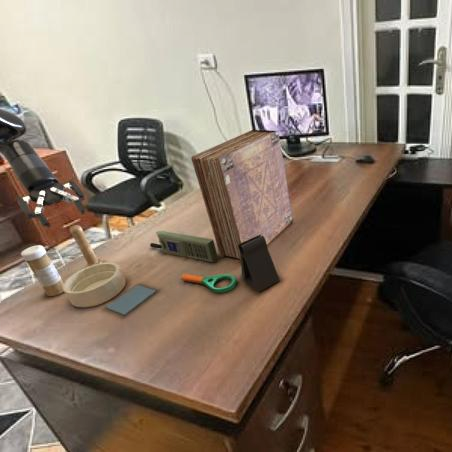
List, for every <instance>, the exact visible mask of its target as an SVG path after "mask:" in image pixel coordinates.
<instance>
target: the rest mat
mask: <svg viewBox="0 0 452 452" xmlns="http://www.w3.org/2000/svg"><path fill="white" fill-rule="evenodd" d="M156 293H157V290H155V289H152V288H149V287H145V286H143V285H140V284H137V285H136V286H134V287H133V288H131V289H130V290H128V291H126V292H125V293H124V294H122V295H121V296H119V298H117V299H116V300H114V301H113V302H111V303H110V304H108V305H107V306H105V308H106V309H107V310H109V311H113V312H115V313H117V314H121V315H123V316H127V315H128V314H129V313H130V312H132V311H133V310H135V309H137V307H139V306H140V305H142V304H143V303H144V302H145V301H147V300H148V299H149V298H151V297H152V296H153V295H155V294H156Z"/></svg>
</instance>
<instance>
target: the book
mask: <svg viewBox="0 0 452 452" xmlns="http://www.w3.org/2000/svg"><path fill="white" fill-rule="evenodd" d="M190 159H191V162H192V166H193V169H194V173H195V176H196V179H197V183H198V186H199V189H200V193H201V196H202V199H203V202H204V207H205V209H206V213H207V215H208V219H209V223H210V226H211V228H212V232H213V236H214V239H215V243H216V246H217V250H218V252H219V256H220V258H224V257H225V256H226V257H230V258H235V259H238V260H241V258H240V251H239V248H238V244H240V243H243V242H245V241H247V240H249V239H251V238H253V237H256V236H258V235H260V234H261V236H264V238H265V240H266V245H267V246H268V245H269V243H271V241H273V240H274V239H275V238H276V237H278V236H279V234H281V232H283V231H284V230H285V229H286V228H287V227H288V226H289V225H290V224H292V223H293V222H294V216H293V210H292V204H291V198H290V192H289V188H288V182H287V174H286V170H285V163H284V157H283V152H282V145H281V139H280V134H279V130H264V129H251V130H249V131H247V132H244V133H242V134H240V135H237V136H235V137H233V138H230V139H228V140H226V141H223V142H221V143H219V144H217V145H214V146H212V147H209V148H208V149H204V151H200V152H199V153H196V154H193V155H192V156H191V158H190ZM261 236H260V237H261Z"/></svg>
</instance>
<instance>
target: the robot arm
mask: <svg viewBox="0 0 452 452" xmlns="http://www.w3.org/2000/svg"><path fill="white" fill-rule="evenodd" d="M27 132H28V127H27V125H26V123H25V122H24V120H23V119H22V118H21V117H19V116H18V115H16V114H14V113H13V112H10V111H8V110H6V109H3V108H0V154H1V155H2V156H3V157H4V159H5V160H6V162H7V163H8V165H9V166H10V167H11V169H12V172H13V173H14V175H15V177H16V179H17V180H18V181H19V182H20V183H21V185H22V186H23V188H24V190H26V192H27V193H28V195H27V196H23V197H22V196H16V200H17V203H18V205H19V207H20V208H21V211H22V212H23V213H24V215H25V217H26V218H27V219H28V220H32V219H33V218H36V219H37V220H38V221H39V222H40V224H41V225H42V226H43V228H45V227H47V228H48V229H49V228H51V227H52V225H51V223H50V221H49V220H48V219H47V217H46V215H44V211H45V209H46V207H47V206H48V207H50V206H53V205H54V204H59V203H62V201H63V202H66V203H71V204H74V206H75V208H76V209H77V210H78V212H79V214H80V215H82V216H83V215H85V214H86V213H85V212H86V207H85V206H84V204H83V203H82V201H85V200H86V197H85V193H84V192H83V190H81V188H80V187H79V185H77V183H76V181H74V180H69V181H68V182H67V183H64V184H62V183H61V182H60V181H59V179H57V177H56V176H55V174H54V173H53V171H52V170H51V169H50V167H49V166H48V165H47V163H46V162H45V161H44V160H43V159H42V158H41V157H40V155H39V154H38V153H37V151H36V150H35V148H34V147H33V146H32V144H31V143H30V142H28V141H27V140H23V139H19V138H21V137H23V136H24V135H26V133H27ZM66 190H69V191H70V192H71V191H72V192H73V193H74V194H75V195H73V194H71V193H70V192H67V191H66ZM30 201H31V202H33V203H35V204H36V205H35V208H34V209H35V210H32V211H31V210H30V208H29V206H28V205H30Z"/></svg>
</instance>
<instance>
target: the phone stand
mask: <svg viewBox="0 0 452 452" xmlns="http://www.w3.org/2000/svg"><path fill="white" fill-rule="evenodd" d="M260 236H261V234H260V235H258V236H256V237H253V238H251V239H249V240H247V241H245V242H243V243H240V244H238V248H239V251H240V258H241V259H240V269H241V270H240V271H241V277H242V279H243V280H245V282H247V283H248V284H249V285H250V286H251V287H252V288H253V289H254V290H256V292H257V293H261V292H262V291H265V290H267V289H268V288H270V287H272V286H273V285H275V284H277V283H279V282H280V277H279V274H278V272H277V270H276V267H275V264H274V261H273V258H272V256H271V254H270V250H269V248H268V244H267V245H266V240H265V238H264V236H261V237H260Z"/></svg>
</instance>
